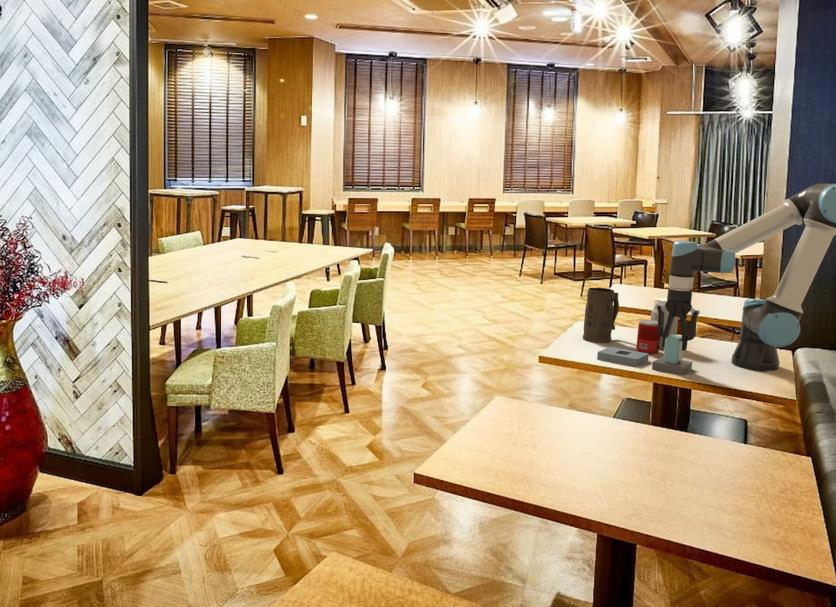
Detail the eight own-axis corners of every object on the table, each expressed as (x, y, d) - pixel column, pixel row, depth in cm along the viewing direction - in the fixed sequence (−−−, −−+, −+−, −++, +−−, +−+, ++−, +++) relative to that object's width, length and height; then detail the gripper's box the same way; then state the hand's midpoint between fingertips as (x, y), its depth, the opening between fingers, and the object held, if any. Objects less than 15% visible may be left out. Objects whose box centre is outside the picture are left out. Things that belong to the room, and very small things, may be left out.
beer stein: (599, 344, 291) (606, 291, 289) (575, 338, 299) (582, 286, 297) (622, 342, 302) (629, 290, 299) (598, 336, 310) (605, 286, 307)
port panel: (648, 360, 270) (648, 353, 269) (636, 366, 261) (637, 359, 261) (609, 353, 278) (610, 346, 277) (597, 358, 269) (597, 351, 268)
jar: (671, 351, 286) (676, 302, 283) (644, 346, 291) (649, 299, 288) (677, 346, 294) (682, 299, 291) (651, 342, 299) (656, 295, 296)
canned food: (661, 354, 280) (664, 324, 278) (639, 353, 280) (642, 323, 278) (655, 349, 287) (658, 320, 285) (633, 348, 287) (636, 319, 285)
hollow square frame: (691, 369, 261) (692, 361, 260) (682, 374, 253) (683, 367, 252) (661, 363, 267) (662, 356, 266) (651, 369, 259) (652, 361, 258)
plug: (680, 368, 261) (684, 336, 259) (674, 372, 256) (678, 339, 254) (668, 366, 263) (672, 334, 261) (662, 369, 258) (666, 337, 256)
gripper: (710, 291, 253) (702, 361, 257) (658, 284, 263) (651, 352, 267) (703, 293, 247) (695, 365, 251) (650, 286, 257) (643, 355, 261)
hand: (673, 358), depth 259 cm, fingers closed on plug, 4 cm apart
